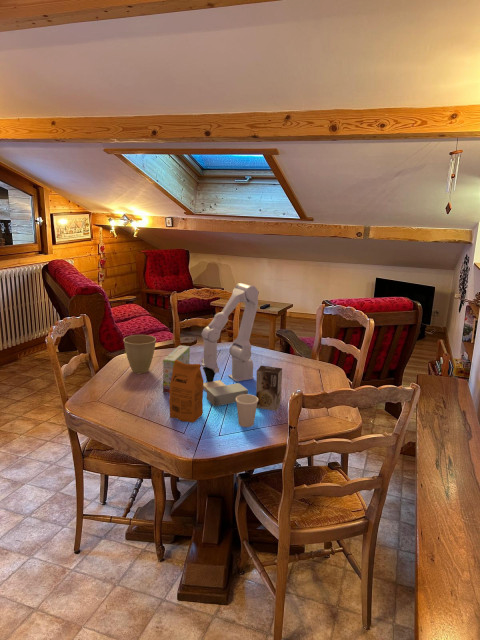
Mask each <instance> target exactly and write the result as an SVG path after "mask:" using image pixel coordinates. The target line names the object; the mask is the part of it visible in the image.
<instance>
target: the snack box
mask: <svg viewBox="0 0 480 640" xmlns="http://www.w3.org/2000/svg"><path fill="white" fill-rule="evenodd" d="M190 348H191V347H190V346H189V345H178V346H177V347H176V348H175V349H174V350H173V351H171V352H170V353H169V354H168V355H167V356H165V358H163V360H162V364H163V365H162V367H163V368H162V369H163V370H162V371H163V372H162V373H163V375H162V393H167V394H170V383H171V378H172V373H173V366H174V362H175V360H178V361H180V362H182V363H184V364H190V354H191V353H190V352H191V350H190Z"/></svg>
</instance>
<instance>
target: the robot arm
mask: <svg viewBox="0 0 480 640" xmlns="http://www.w3.org/2000/svg"><path fill="white" fill-rule="evenodd" d="M259 293H260V292H259V289H258V288H257V287H256V286H254V285H251V284H247V283H244V282H239V283H237V284H236V285H235V287H234V288H233V289H232V294H231V296H230V297H229V299H228V301H227V302H226V304H225V306H223V308H222V311H221V312H216V314H214V315H213V316H214V317H213V319H212V320H211V321H210V322H209V323H208V325H207V326H206V327H204V328H203V330H201V331H202V332H201V334H200V335H201V337H202V339H203V358H201V364H200V365H201V367H202V370H203V372H204V374H205V378H206V382H212V381H215V380H214V379H215V375H216V374H218V373H220V367H219V364H218V362H217V361H218V356H217V354H218V340H219V339H220V338H221V333H222V332H221V331H222V330H223V329H224V327H225V326H226V324H227V323H228V321H229V316H230V314H231V313H233V311H234V310H235V308H236V307H237V306H238V305H239V304H241V303H243V304H244V305H245V306H244V309H243V314H242V318H241V322H240V325H239V331H238V334H237V337H236V338H235V339H233V341H232V344H231V346H230V347H229V351H228V352H229V355H230V356H231V374H228V377H229V378H230V379H232V380H233V381H234V382H236V383H238V382H243V381H248V380H252V379H254V362H253V360H252V358H251V357H252V347H253V346H252V345H251V343H250V339H251V334H252V330H253V327H254V321H255V319H256V318H255V317H256V314H257V311H258V307H259Z"/></svg>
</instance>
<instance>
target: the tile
mask: <svg viewBox="0 0 480 640" xmlns="http://www.w3.org/2000/svg"><path fill="white" fill-rule="evenodd" d="M225 385H226V384H225V383H224V381H223V382H222V380H220V379H218V380H213V381H212V382H207V381H206V382H203V391H205V392H206V393H207V389H209V388H214V387H220V386H225Z"/></svg>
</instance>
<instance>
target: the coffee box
mask: <svg viewBox="0 0 480 640" xmlns="http://www.w3.org/2000/svg"><path fill="white" fill-rule="evenodd" d="M282 379H283V368H281V367H276V366H275V367H274V366H269V365H268V366H266V365H260V366H259V367H258V369H257V370H256V380H255V381H256V382H255V383H256V386H255V387H256V388H255V390H256V391H255V396H256V397H257V398H258V402H257V408H256V409H261V410H267V411H273V412H278V410H279V409H280V407H281V406H282V405H281V404H282V403H281V400H282ZM280 405H281V406H280Z"/></svg>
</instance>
